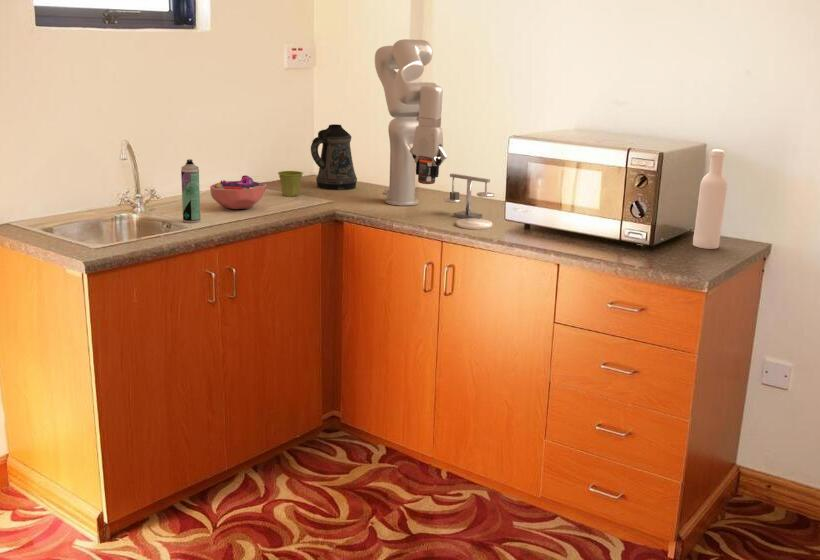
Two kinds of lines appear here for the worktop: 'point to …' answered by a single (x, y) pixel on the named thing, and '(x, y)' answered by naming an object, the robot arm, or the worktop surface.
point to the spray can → (190, 192)
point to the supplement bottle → (425, 171)
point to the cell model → (238, 193)
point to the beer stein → (334, 159)
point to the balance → (467, 196)
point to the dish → (474, 223)
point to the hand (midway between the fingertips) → (426, 175)
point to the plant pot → (290, 182)
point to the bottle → (711, 205)
